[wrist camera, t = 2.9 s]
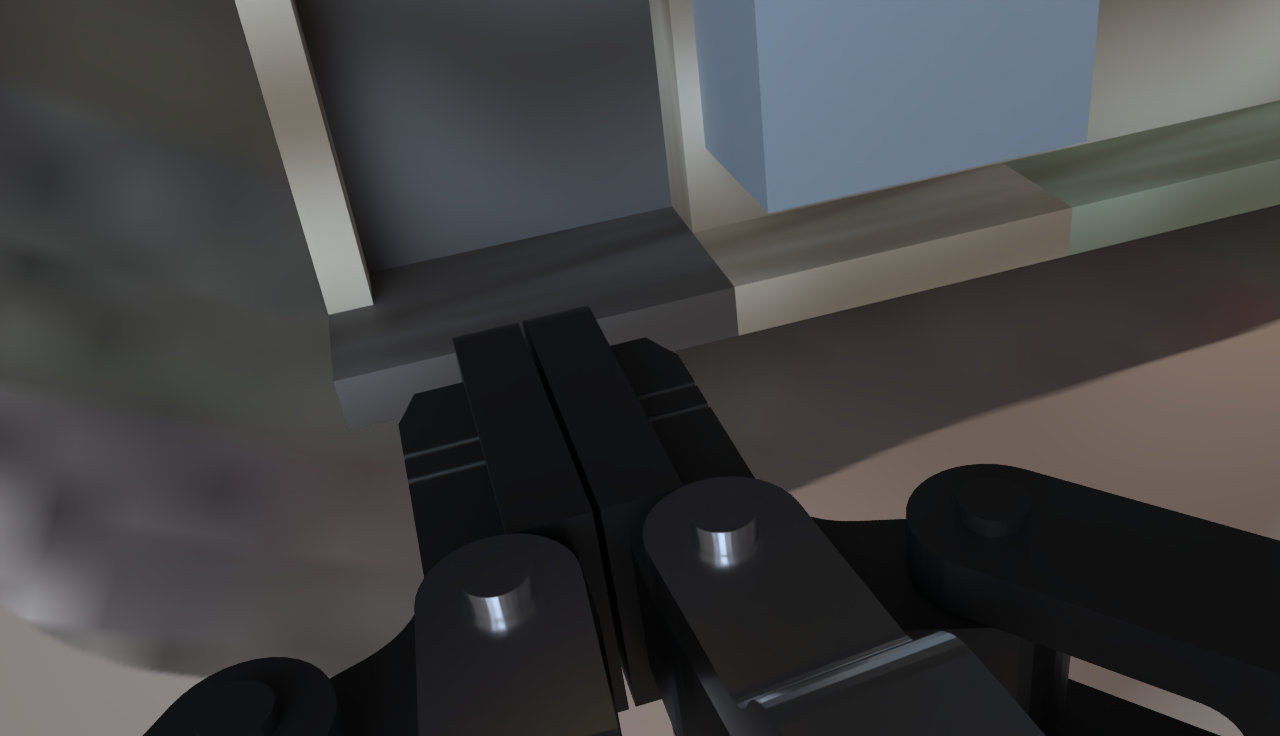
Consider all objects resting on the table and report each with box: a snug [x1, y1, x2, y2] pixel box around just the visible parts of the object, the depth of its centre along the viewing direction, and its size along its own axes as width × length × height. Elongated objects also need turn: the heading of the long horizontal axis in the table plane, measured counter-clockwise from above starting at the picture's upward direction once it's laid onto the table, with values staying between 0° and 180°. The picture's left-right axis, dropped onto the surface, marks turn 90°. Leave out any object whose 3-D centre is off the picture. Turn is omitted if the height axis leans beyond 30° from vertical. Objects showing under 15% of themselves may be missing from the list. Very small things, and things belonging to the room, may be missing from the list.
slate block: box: [692, 0, 1100, 213], centre depth 23 cm, size 6×7×4 cm
